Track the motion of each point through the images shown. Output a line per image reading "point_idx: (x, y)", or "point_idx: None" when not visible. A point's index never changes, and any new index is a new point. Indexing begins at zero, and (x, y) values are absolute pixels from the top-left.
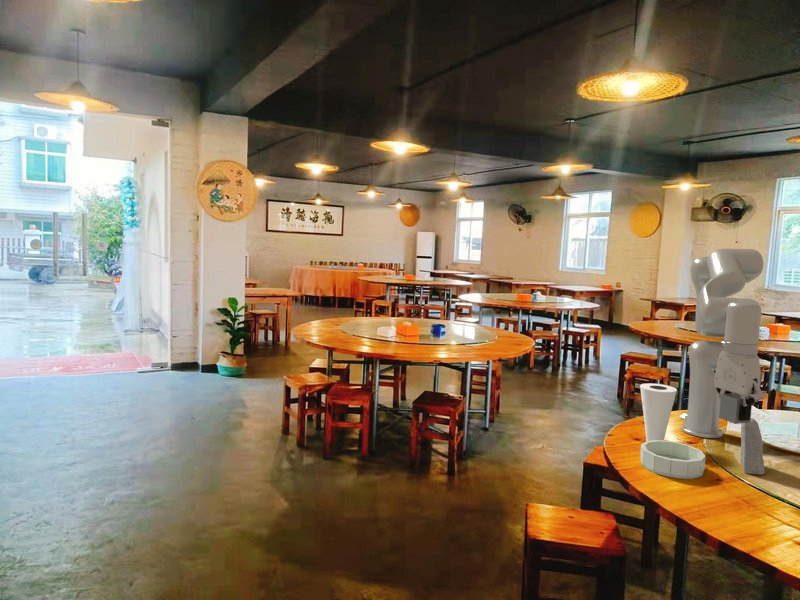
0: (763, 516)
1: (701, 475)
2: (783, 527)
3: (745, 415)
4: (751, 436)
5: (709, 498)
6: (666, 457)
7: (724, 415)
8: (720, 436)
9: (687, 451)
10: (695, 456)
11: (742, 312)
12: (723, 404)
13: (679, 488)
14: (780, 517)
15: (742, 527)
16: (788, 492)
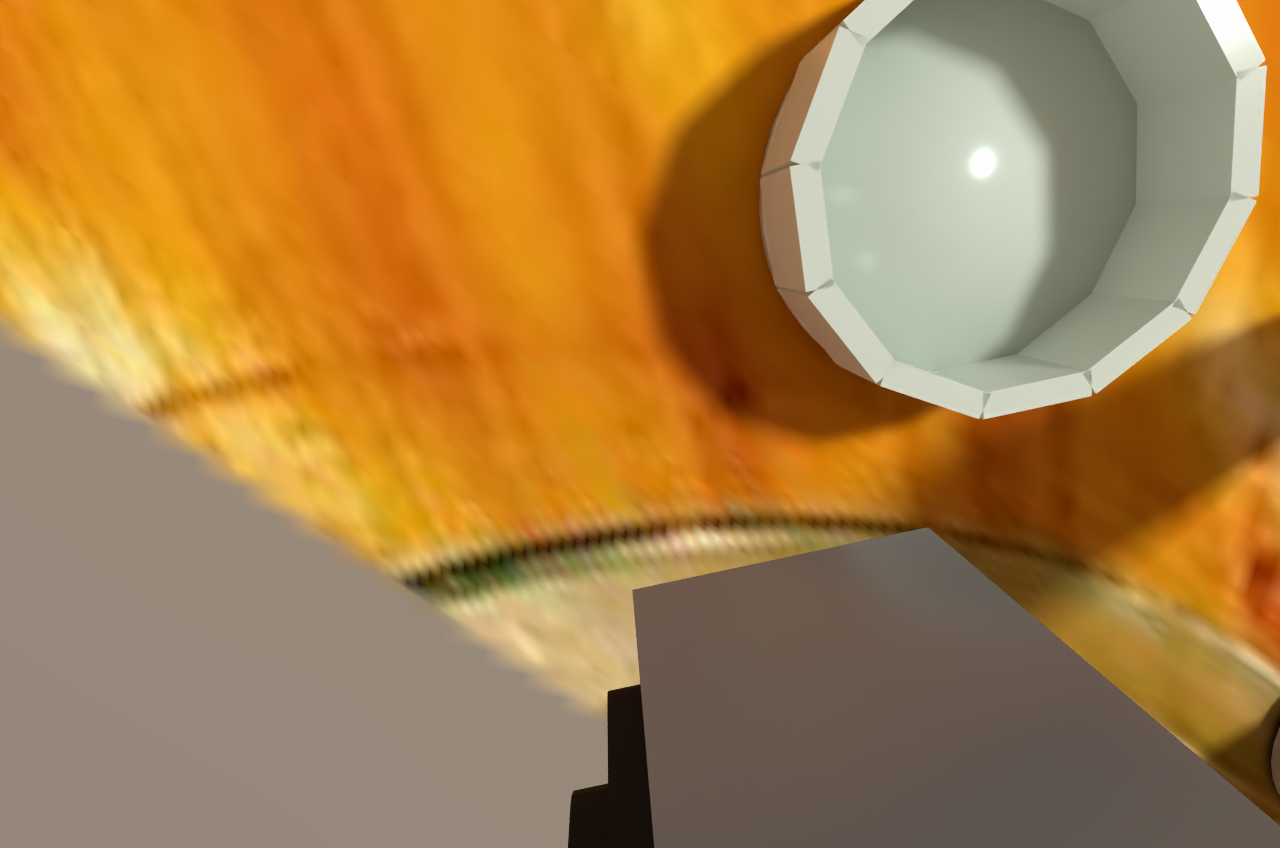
0: (252, 333)
1: (794, 316)
2: (127, 354)
3: (571, 817)
4: None
5: (476, 150)
6: (1069, 224)
7: (857, 582)
8: (1277, 781)
9: (1049, 364)
10: (970, 378)
11: None
12: (1018, 708)
13: (625, 28)
14: (251, 421)
15: (85, 97)
16: (556, 663)
